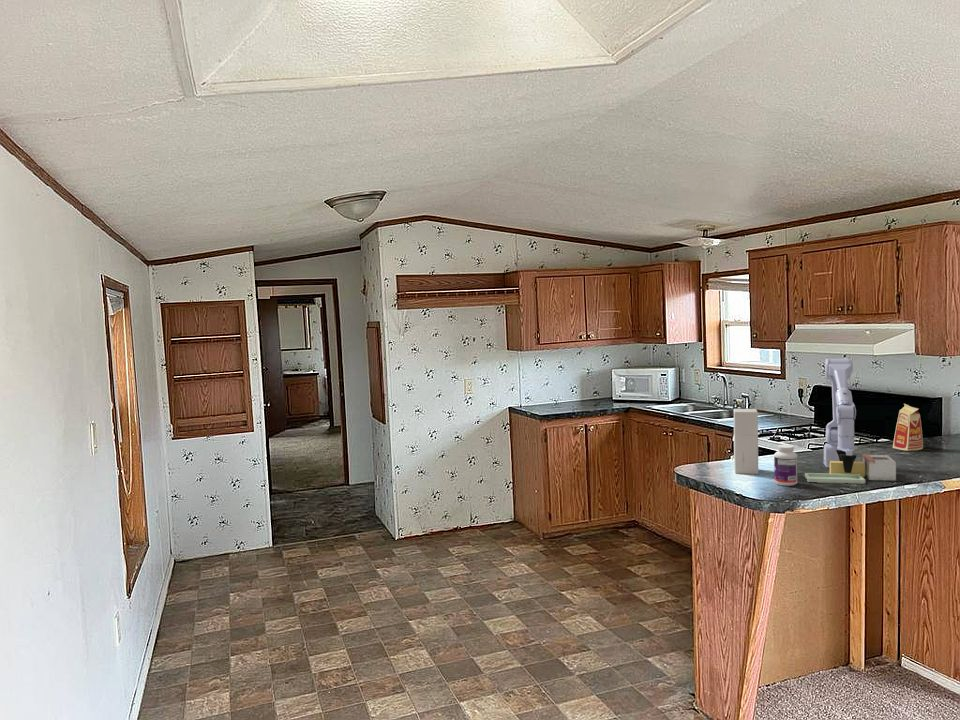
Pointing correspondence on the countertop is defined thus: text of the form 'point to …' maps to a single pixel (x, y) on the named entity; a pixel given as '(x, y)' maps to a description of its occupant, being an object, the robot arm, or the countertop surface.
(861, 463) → the tan rectangular block
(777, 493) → the countertop surface
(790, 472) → the pill bottle
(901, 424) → the milk carton
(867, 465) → the dispenser
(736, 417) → the tall white carton
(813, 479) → the tray
